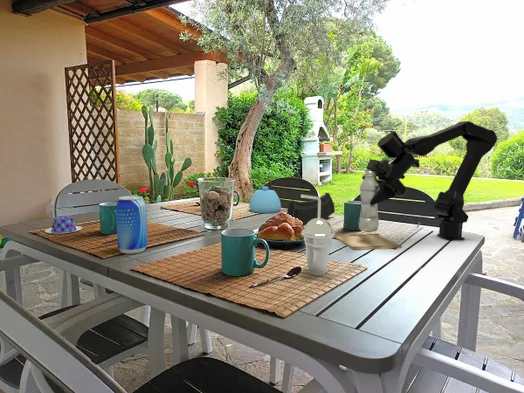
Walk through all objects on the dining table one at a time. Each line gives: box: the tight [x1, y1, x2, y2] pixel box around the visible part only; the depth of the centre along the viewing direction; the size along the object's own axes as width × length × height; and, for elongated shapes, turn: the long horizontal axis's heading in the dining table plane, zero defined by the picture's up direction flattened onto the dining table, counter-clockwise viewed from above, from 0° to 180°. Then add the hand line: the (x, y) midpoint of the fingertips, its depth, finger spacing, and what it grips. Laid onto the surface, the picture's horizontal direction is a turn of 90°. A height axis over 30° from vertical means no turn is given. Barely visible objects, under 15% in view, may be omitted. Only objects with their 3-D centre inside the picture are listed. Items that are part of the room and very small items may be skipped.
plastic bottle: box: [357, 169, 380, 233], centre depth 122 cm, size 6×7×20 cm
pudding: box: [44, 215, 83, 235], centre depth 136 cm, size 12×12×5 cm
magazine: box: [286, 192, 336, 226], centre depth 154 cm, size 17×3×30 cm
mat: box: [334, 233, 403, 251], centre depth 125 cm, size 16×16×1 cm
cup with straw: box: [299, 194, 337, 276], centre depth 94 cm, size 8×9×20 cm
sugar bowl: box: [248, 186, 282, 214], centre depth 179 cm, size 15×15×12 cm
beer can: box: [115, 195, 148, 255], centre depth 112 cm, size 8×8×16 cm
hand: (365, 202), depth 122 cm, fingers closed on plastic bottle, 6 cm apart
